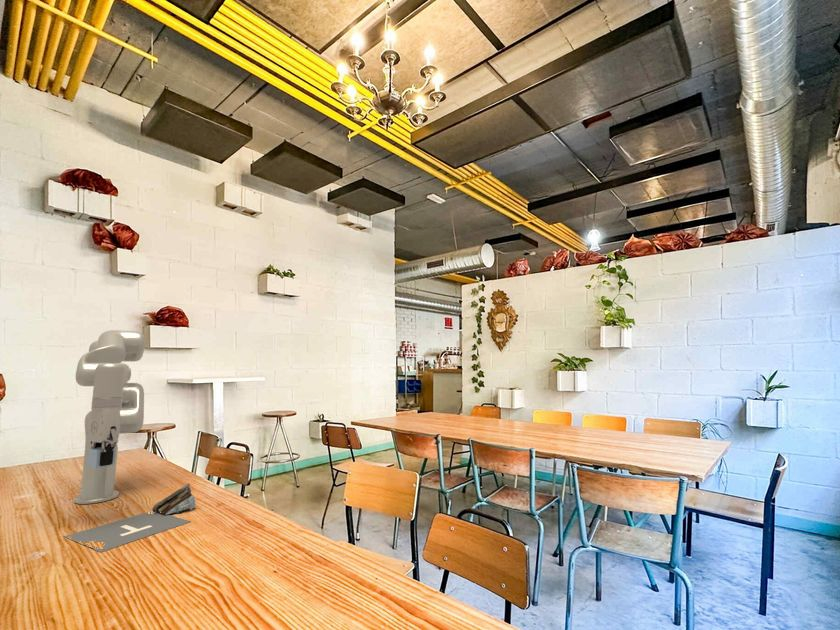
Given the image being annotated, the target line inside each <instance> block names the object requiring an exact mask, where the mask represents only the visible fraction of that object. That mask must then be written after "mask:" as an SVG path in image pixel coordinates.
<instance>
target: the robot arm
mask: <svg viewBox="0 0 840 630" xmlns="http://www.w3.org/2000/svg"><path fill="white" fill-rule="evenodd" d="M145 349H146V338H145V335H144V334H143V333H142V332H140V331H135V330H121V329H120V330H119V329H117V330H116V329H113V330H107V331H104V332H102V333H101V334H100V335H99V337H98V340H96V341H92V343H91V344H90V345H89V348H88V352H86V353H84V354H83V355H82V356H81V357H80V358H79V360H78V362H77V366H76V370H75V371H76V372H75V381H76V383H77V384H78V385H79V386H80V387H93V389H92V399H91V410H90V411H88V412H87V414H86V415H85V417H84V432H85V433H84V436H85V440H84V441H85V443H84V456H83V463H82V464H83V466H82V476H81V485H80V489H79V490H80V491H79V492H80V493H79V495H76V496H75V497H74V498H73V503H75V504H78V505H79V504H80V505H88V504H90V505H91V504H96V503H97V504H98V503H103V502H108V501H110V500H111V501H112V500H113V499H116V498H118V497H119V494H120V492H119V491H118V490H115V485H116V471H117V461H118V451H119V446H118V442H119V437H120V434H121V435H122V434H131V433H132V434H133V433H137V432H139V431H140V430H142V428H143V425H144V418H145V416H144V415H145V413H144V412H145V391H144V387H143V386H142V384H141V383H137V382H129V381H130V380H131V377H132V369H131V368H130V366H129V365H128V364H126V363H123V362H138V361H140V360H141V359H142V358H143V356H144V355H143V354H144V352H145ZM100 447H102V452H101V455H100V466H104V467H99V468H93V467H89V466H87V463H88V453H89V449H93V448H100ZM115 448H116V453H115V464H114V465H111V464H112V463H113V452H114V450H115ZM106 465H110V466H106Z"/></svg>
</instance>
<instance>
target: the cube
mask: <svg viewBox="0 0 840 630" xmlns="http://www.w3.org/2000/svg"><path fill="white" fill-rule="evenodd" d="M101 452H102V447H100V448H93V449H89V453H88V463H87V466H89V467H93V468H99V467H104V466H100V455H101ZM115 453H116V448H115V450H114V452H113V463H112V464H111V465H114V464H115ZM106 466H110V465H106Z"/></svg>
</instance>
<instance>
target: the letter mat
mask: <svg viewBox="0 0 840 630" xmlns="http://www.w3.org/2000/svg"><path fill="white" fill-rule="evenodd" d="M148 512H150V511H147V513H146V512H143V513H140V514H137V515H133V516H130V517H129V516H128V517H126V518H122V519H119V520H115V521H113V522H108V523H105V524H102V525H99V526H94V527H92V528H91V527H90V528H87V529H84V530H81V531H78V532H74V533H70V534H66V535H63V538H65V537H66V539H68V537H69V536H70V537H72V538H71V539H72V540H73V539H74V540H73V541H72V540H71V541H72V542H75V541H76V543H77V542H78V541H79V542H80V541H81V543H83V542H84V543H89V541H94V543H95V542H104V543H105V545H104V543H103V545H104V547H103V549H99V548H98V549H97V547H96V549H95V546H94V550H93V551H96V552H98V553H103V552H106V551H108V550H112V549H115V548H118V547H120V546H124V545H127V544H129V543H133V542H136V541H140V540H141V539H145V538H147V537H151V536H153V535H156V534H159V533H162V532H164V531H168V530H171V529H174V528H177V527H179V526H183V525H185V524H188V523H191V522H192V521H191V520H187V519H185V518H181V517H177V516H174V515H172V514H168V515H163V514H162V513H160V512H154V513H153V512H152V513H153V514H151V512H150V514H148ZM70 537H69V538H70ZM95 540H96V541H95ZM85 545H86V544H85ZM87 545H88V544H87ZM87 545H86V546H87ZM82 546H84V544H83V545H82ZM86 546H85V547H86ZM87 548H89V545H88V547H87ZM92 548H93V546H92Z"/></svg>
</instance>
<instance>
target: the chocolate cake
mask: <svg viewBox="0 0 840 630" xmlns="http://www.w3.org/2000/svg"><path fill="white" fill-rule="evenodd" d="M190 485H191V484H190V483H187V484H185V485H184V486H183V487H181V488H178V490H176V491H174V492H173V493H171V494H170V495H168V496H166V497H165V498H164V499H162V500H161V501H158V502H157V503H155V504H154V505H153V507H152V511H153V512H161V513H162V514H163V515H172V514H174V513H177V514H182V511H186V510H189V511H192V510H193V509H195V508H196V499H195V496H194V495H193V493H192V490H191V487H190Z"/></svg>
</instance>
